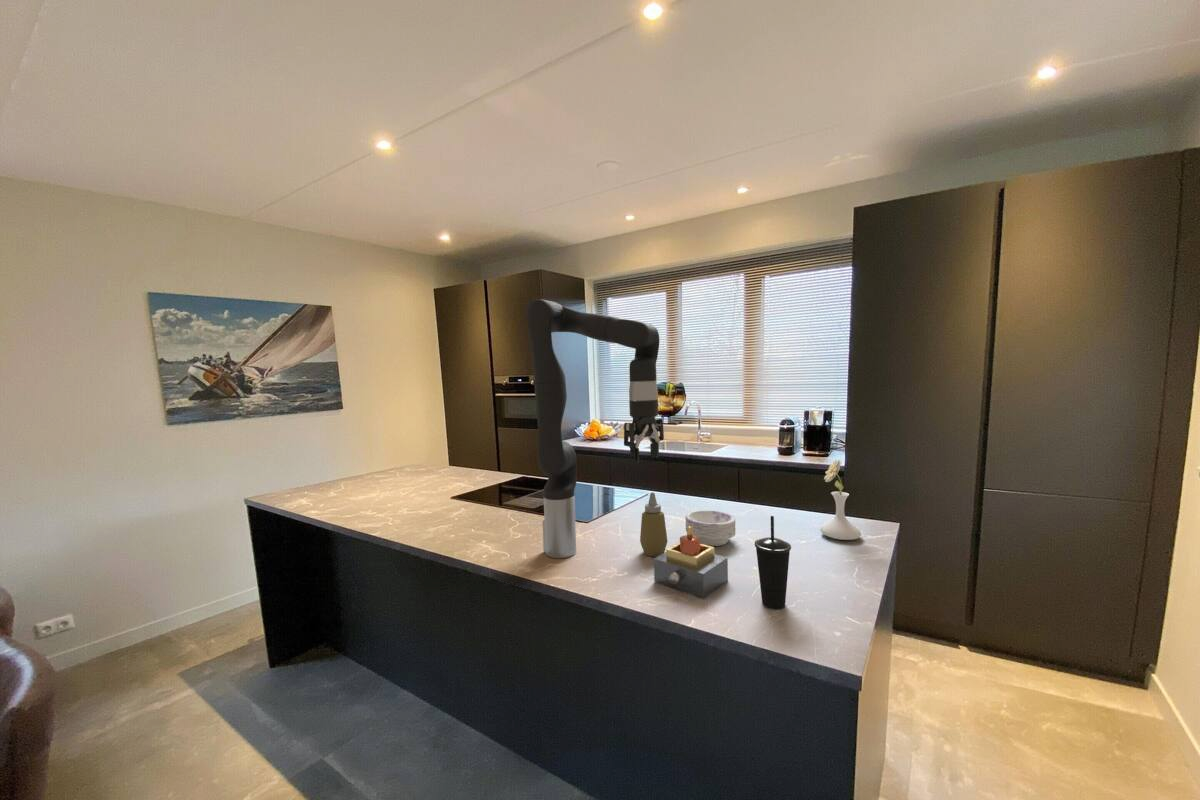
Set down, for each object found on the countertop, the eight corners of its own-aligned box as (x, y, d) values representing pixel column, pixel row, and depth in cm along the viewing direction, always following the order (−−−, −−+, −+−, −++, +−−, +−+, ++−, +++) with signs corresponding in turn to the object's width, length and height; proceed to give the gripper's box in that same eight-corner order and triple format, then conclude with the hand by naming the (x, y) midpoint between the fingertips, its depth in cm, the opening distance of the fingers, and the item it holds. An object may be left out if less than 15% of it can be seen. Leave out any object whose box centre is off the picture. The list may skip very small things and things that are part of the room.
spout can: (676, 578, 111) (675, 527, 111) (687, 571, 115) (686, 522, 115) (694, 584, 108) (693, 531, 107) (704, 576, 112) (703, 526, 111)
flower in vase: (823, 528, 147) (822, 453, 146) (863, 534, 140) (862, 456, 139) (815, 540, 136) (815, 460, 135) (858, 548, 130) (858, 463, 128)
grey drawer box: (649, 584, 111) (648, 551, 110) (680, 566, 121) (679, 535, 120) (699, 602, 101) (698, 566, 101) (727, 581, 111) (727, 547, 111)
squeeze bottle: (667, 559, 126) (665, 496, 125) (638, 557, 127) (637, 496, 127) (668, 548, 134) (667, 489, 133) (641, 547, 135) (640, 489, 134)
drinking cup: (749, 596, 103) (748, 512, 102) (781, 594, 104) (780, 510, 103) (764, 614, 95) (763, 522, 94) (798, 611, 96) (797, 520, 95)
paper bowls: (741, 537, 141) (741, 512, 141) (727, 553, 128) (727, 527, 128) (695, 529, 149) (695, 506, 149) (678, 544, 137) (677, 519, 136)
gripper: (648, 397, 124) (649, 454, 125) (615, 399, 114) (616, 462, 114) (670, 397, 119) (672, 457, 120) (638, 400, 109) (639, 465, 109)
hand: (645, 459), depth 117 cm, fingers open, 8 cm apart
